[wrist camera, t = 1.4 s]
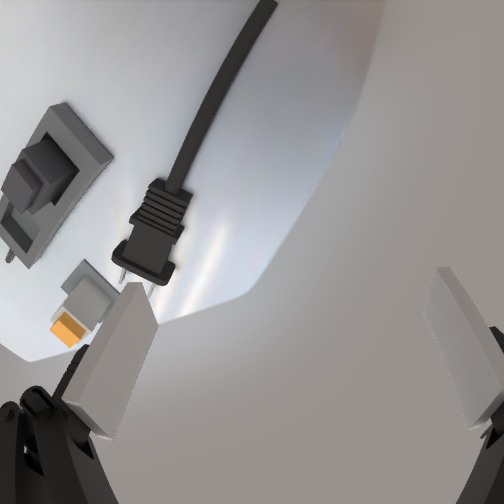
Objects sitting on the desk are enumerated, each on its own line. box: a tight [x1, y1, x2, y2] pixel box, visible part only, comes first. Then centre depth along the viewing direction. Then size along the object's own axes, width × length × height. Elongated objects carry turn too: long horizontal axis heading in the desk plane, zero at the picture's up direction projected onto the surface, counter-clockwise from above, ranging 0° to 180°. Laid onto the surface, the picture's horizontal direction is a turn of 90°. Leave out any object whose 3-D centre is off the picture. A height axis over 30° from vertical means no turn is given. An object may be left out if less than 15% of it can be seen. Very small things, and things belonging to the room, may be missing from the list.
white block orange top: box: [50, 275, 112, 348], centre depth 43 cm, size 6×6×10 cm
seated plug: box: [1, 137, 80, 215], centre depth 31 cm, size 6×6×10 cm
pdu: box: [0, 103, 114, 269], centre depth 38 cm, size 34×11×4 cm, turn 129°
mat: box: [61, 259, 120, 323], centre depth 47 cm, size 10×10×1 cm
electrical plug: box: [111, 0, 278, 298], centre depth 33 cm, size 9×42×5 cm, turn 153°
